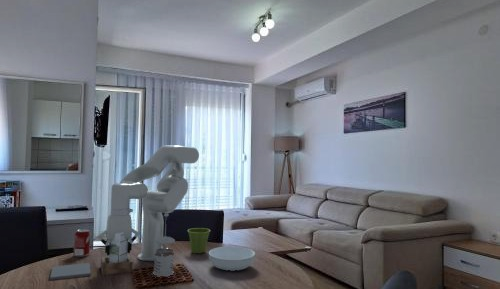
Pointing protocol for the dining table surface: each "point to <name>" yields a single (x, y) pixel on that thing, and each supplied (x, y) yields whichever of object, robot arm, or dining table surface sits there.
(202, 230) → the plant pot
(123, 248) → the syrup box
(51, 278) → the mat
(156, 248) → the robot arm
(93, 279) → the dining table surface
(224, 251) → the serving bowl
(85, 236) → the soda can
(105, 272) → the holder
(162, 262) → the french press
